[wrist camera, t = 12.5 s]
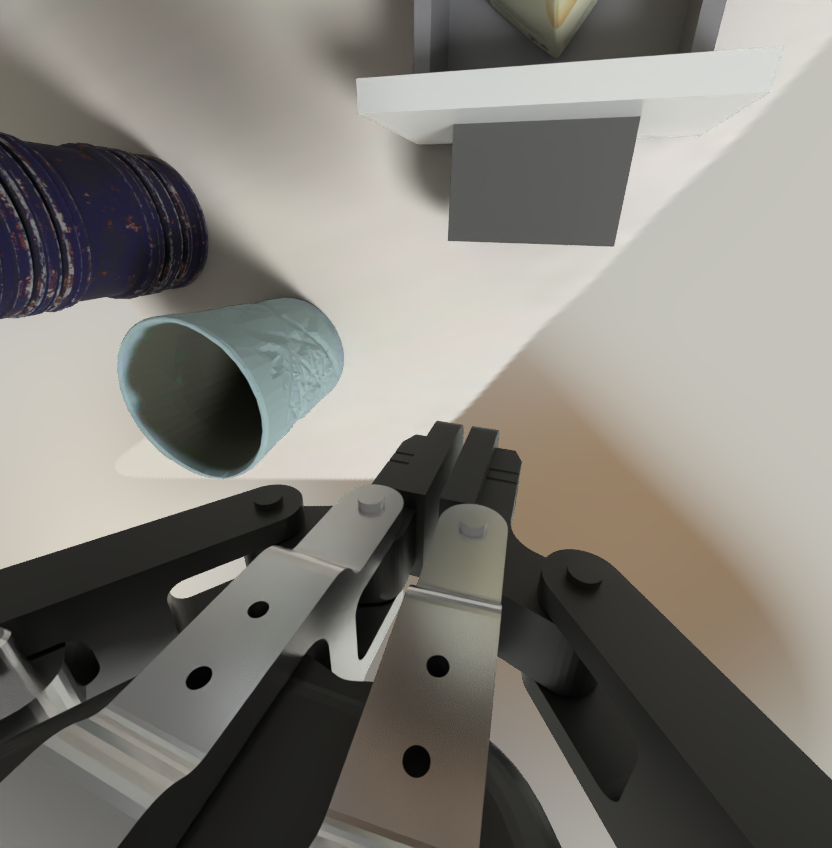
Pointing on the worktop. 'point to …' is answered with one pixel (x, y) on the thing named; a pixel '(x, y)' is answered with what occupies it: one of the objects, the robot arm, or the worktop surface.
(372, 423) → the worktop surface
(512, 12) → the skincare box
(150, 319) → the teal planter pot
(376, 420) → the worktop surface
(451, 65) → the drawer
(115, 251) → the storage jar
